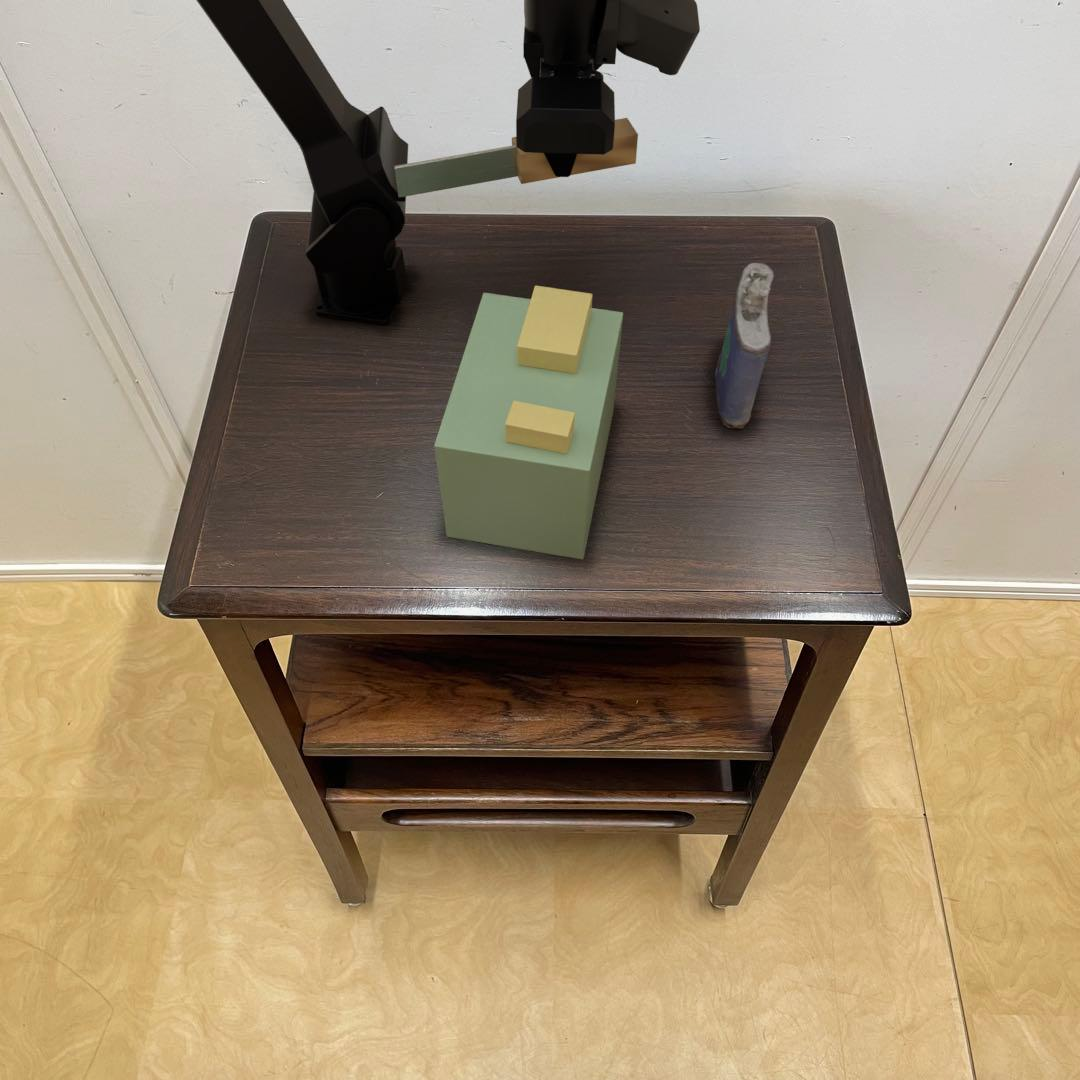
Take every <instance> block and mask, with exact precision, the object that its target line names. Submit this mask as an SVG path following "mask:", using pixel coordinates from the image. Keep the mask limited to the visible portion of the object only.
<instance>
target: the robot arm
mask: <svg viewBox="0 0 1080 1080" xmlns="http://www.w3.org/2000/svg"><path fill="white" fill-rule="evenodd" d="M196 2H197V4H198V5H199V6H200V8H201V9H202V10H203V12H204V13H205V15H206V16H207V17H208V19H209V20H210V22H211V23H212V24H213V26H214V27H215V29H216V31H218V33H219V35H220V37H221V38H222V39H223V40H224V41H225V43H226V44H227V46H228V47H229V49H230V50H231V51H232V53H233V55H234V56H235V57H236V58H237V60H238V61H239V63H240V64H241V66H242V67H243V69H244V70H245V71H246V73H247V74H248V76H249V77H250V79H251V80H252V81H253V83H254V84H255V86H256V87H257V88H258V90H259V91H260V92H261V94H262V95H263V97H264V99H266V101H267V103H268V104H269V105H270V107H271V108H272V110H273V111H274V112H275V114H276V115H277V116H278V118H279V119H280V121H281V122H282V124H283V125H284V126H285V128H286V129H287V131H288V132H289V134H290V135H291V137H292V138H293V139H294V141H295V142H296V143H297V145H298V147H299V148H300V151H301V154H302V156H303V159H304V164H305V165H306V170H307V172H308V176H309V180H310V182H311V186H312V190H313V194H312V203H311V209H310V218H309V227H308V236H307V243H306V252H305V256H306V258H307V259H308V261H309V262H310V264H311V265H312V266H313V270H314V274H315V279H316V282H317V286H318V291H319V296H318V299H317V301H316V303H315V305H314V312H315V315H317V316H321V317H326V318H333V319H341V320H346V321H355V322H360V323H367V324H368V323H369V324H375V325H381V326H386V325H389V324H390V323H391V320H392V319H393V316H394V314H395V313H394V312H395V311H396V307H397V306H399V305H400V304H401V301H402V299H403V298H404V295H405V291H406V289H407V286H408V276H409V274H408V269H407V268H406V265H405V264H406V263H405V257H404V251H403V248H402V247H401V246H399V245H397V242H396V239H397V237H398V236H399V235H400V234H401V233H402V231H403V229H404V226H405V223H406V206H407V205H406V204H407V196H405V197H400V198H399V197H398V193H397V186H396V179H395V171H394V166H397V165H403V164H409V162H408V161H409V144H408V142H407V141H405V140H404V139H402V138H401V137H400V136H399V134H398V133H397V132H396V131H395V129H394V127H393V125H392V123H391V122H392V121H391V120H390V117H389V115H388V112H387V110H386V109H385V107H384V106H379V107H377V108H376V109H374V110H373V111H371V112H369V113H368V114H367V113H366V112H364V111H362V110H361V109H359V108H358V107H356V106H354V105H352V104H351V103H350V102H349V101H348V100H347V98H346V97H345V96H344V94H343V93H342V91H341V89H340V88H339V86H338V85H337V83H336V81H335V79H334V78H333V77H332V75H331V73H330V72H329V70H328V69H327V67H326V65H325V64H324V61H322V59H321V58H320V56H319V55H318V52H317V51H316V49H315V48H314V47H313V45H312V43H311V42H310V40H309V39H308V37H307V35H306V34H305V33H304V31H303V29H302V28H301V26H300V24H299V22H298V21H297V20H296V18H295V16H294V15H293V13H292V12H291V10H290V8H289V7H288V5H287V4H286V2H285V1H284V0H196ZM523 15H524V26H523V27H524V28H523V31H524V32H523V46H522V47H523V48H522V49H523V51H522V52H523V53H522V54H523V59H524V62H525V64H526V67H527V69H528V73H529V76H530V78H529V79H528V80H527V81H526V82H525V83H524V84H523V85H522V86H520V87H519V88H518V89H517V100H516V101H517V104H516V115H515V116H516V118H515V137H516V147H517V148H519V149H520V150H522V151H523V152H527V153H544V155H545V157H546V159H547V161H548V163H549V165H550V167H551V169H552V171H553V172H554V174H555V176H557V177H558V178H569V177H570V176H572V175H571V172H572V169H573V166H574V163H575V160H576V157H577V154H602V155H604V154H606V153H608V152H609V151H611V150H613V142H614V130H615V120H616V110H615V109H616V108H615V107H616V105H615V101H616V100H615V91H614V90H613V89H612V88H611V87H610V86H609V85H608V84H607V83H606V82H605V81H604V80H605V79H604V74H603V73H602V72H601V71H598V70H599V69H600V68H601V67H602V66H603V65H616V60H617V59H616V58H617V57H616V56H617V51H618V52H620V53H621V54H622V55H624V56H626V57H629V58H631V59H633V60H636V61H639V62H641V63H644V64H646V65H649V66H652V67H654V68H657V69H658V72H659V73H661V74H664V75H668V76H677V74H678V73H679V71H680V70H681V68H682V66H683V64H684V62H685V60H686V58H687V56H688V55H689V52H690V51H691V48H692V47H693V45H694V43H695V41H696V40H697V37H698V35H699V33H700V31H701V27H700V26H701V25H700V19H699V10H698V4H697V1H696V0H523Z"/></svg>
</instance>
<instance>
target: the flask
mask: <svg viewBox="0 0 1080 1080" xmlns="http://www.w3.org/2000/svg"><path fill="white" fill-rule="evenodd" d="M774 278H775V272H774V270H773V268H771V267H770V266H769V265H768V264H767V263H764V262H752V263H749V264H746V266H745V267H744V268H743V269H742V272H741V274H740V277H739V280H738V283H737V286H736V289H735V293H734V296H733V297H734V298H733V303H732V308H731V311H730V314H729V320H728V325H727V329H726V333H725V337H724V340H723V344H722V349H721V352H720V354H719V356H718V361H717V363H716V368H715V373H714V375H715V378H714V383H715V384H714V385H715V399H716V400H715V401H716V403H715V404H716V408H717V409H716V412H717V416H718V417H719V420H720V422H721V423H722V425H723V426H725V427H727V428H729V429H744V427H746V425H747V424H748V423H749V422H750V419H751V416H752V410H753V408H754V403H755V400H756V395H757V392H758V388H759V385H760V382H761V377H762V375H763V372H764V369H765V364H766V361H767V358H768V356H769V351H770V349H771V347H772V339H773V338H772V337H773V336H772V334H771V329H770V324H769V298H770V291H771V290H772V287H773V283H774V280H775V279H774Z"/></svg>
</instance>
